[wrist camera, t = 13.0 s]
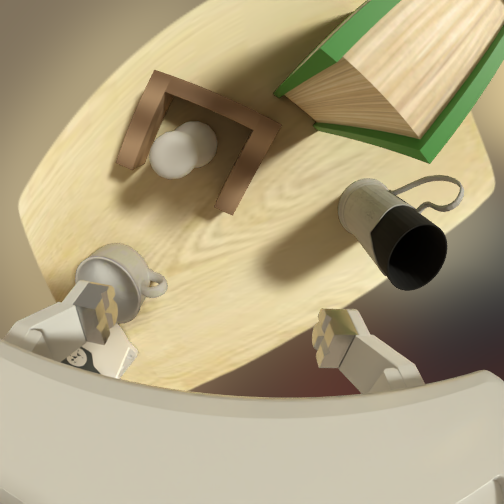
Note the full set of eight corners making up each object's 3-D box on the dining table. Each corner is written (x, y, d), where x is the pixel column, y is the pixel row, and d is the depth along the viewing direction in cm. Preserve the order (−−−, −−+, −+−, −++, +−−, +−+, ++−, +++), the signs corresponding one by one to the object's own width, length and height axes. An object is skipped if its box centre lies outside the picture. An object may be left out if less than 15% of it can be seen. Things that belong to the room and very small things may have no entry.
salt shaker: (188, 172, 35) (158, 202, 23) (167, 135, 32) (125, 147, 21) (228, 150, 33) (216, 169, 22) (206, 112, 31) (182, 110, 20)
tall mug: (325, 211, 37) (364, 266, 24) (390, 138, 32) (460, 158, 19) (364, 246, 40) (408, 308, 27) (424, 180, 35) (489, 217, 21)
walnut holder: (234, 204, 37) (232, 215, 33) (130, 156, 33) (115, 162, 29) (277, 124, 32) (282, 124, 28) (165, 74, 28) (154, 69, 24)
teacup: (100, 286, 43) (80, 315, 36) (94, 229, 38) (68, 253, 31) (175, 301, 44) (163, 334, 37) (177, 242, 39) (162, 271, 32)
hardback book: (318, 130, 32) (429, 163, 11) (272, 93, 30) (320, 48, 9) (393, 47, 26) (526, 17, 5) (353, 11, 24) (460, -63, 2)
